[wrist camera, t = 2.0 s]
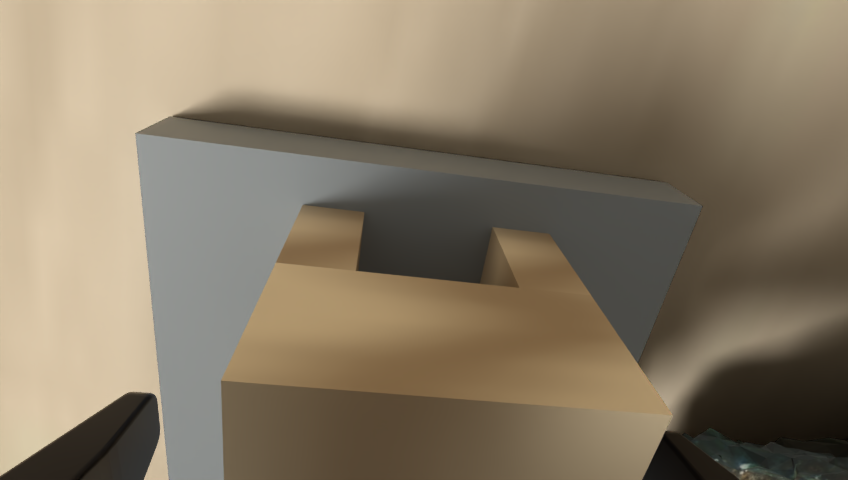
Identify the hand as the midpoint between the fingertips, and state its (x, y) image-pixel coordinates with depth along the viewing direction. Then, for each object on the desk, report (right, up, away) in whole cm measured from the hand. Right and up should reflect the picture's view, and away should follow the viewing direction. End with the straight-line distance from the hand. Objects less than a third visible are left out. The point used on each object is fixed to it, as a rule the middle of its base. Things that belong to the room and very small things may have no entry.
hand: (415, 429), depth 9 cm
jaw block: (0, +1, +2) cm, 3 cm away
